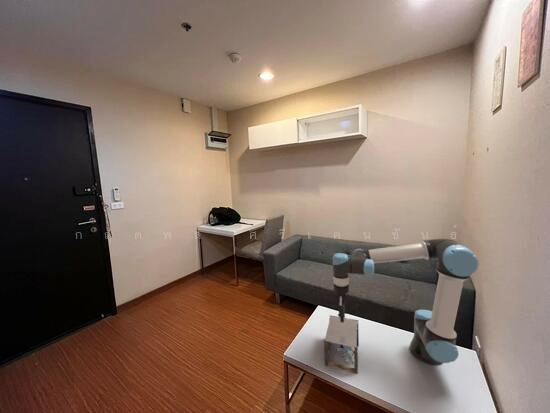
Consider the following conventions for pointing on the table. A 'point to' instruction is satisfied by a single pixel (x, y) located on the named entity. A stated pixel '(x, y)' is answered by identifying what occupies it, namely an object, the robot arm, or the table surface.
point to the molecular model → (347, 353)
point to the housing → (326, 352)
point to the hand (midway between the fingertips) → (342, 326)
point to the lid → (342, 332)
